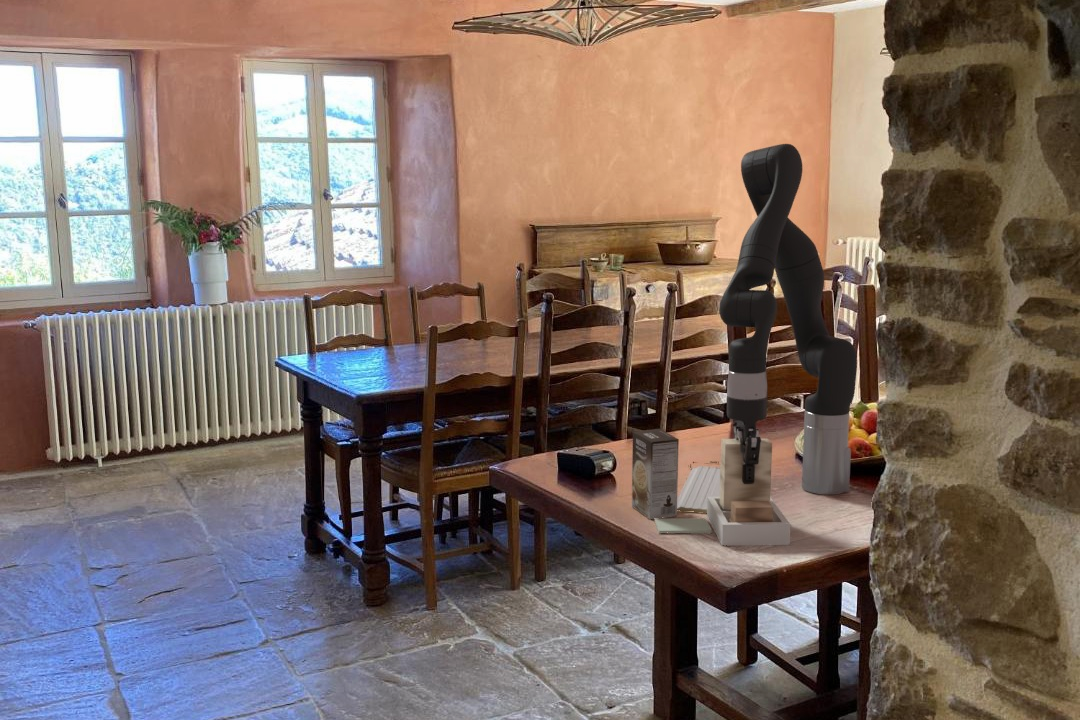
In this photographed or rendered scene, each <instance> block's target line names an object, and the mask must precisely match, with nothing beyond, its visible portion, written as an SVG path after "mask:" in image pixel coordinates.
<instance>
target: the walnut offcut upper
mask: <svg viewBox="0 0 1080 720" xmlns="http://www.w3.org/2000/svg"><path fill="white" fill-rule="evenodd" d="M731 521H732V522H733V523H735V522H773V506H772V505H771V504H770V503H769V501H735V502H731Z"/></svg>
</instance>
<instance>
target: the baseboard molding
mask: <svg viewBox="0 0 1080 720" xmlns="http://www.w3.org/2000/svg"><path fill="white" fill-rule="evenodd" d="M694 463H695V464H697V462H695V461H692V464H694ZM692 464H690V465H689V468H691V469H692V470H690V472H689V474H688V476H687V479H686V480H685V482H684V485H683V487H682V489H681V490H680V492H679V495H678V496H677V510H680V511H694V512H703V513H702V514H706V513H707V497H720V467H717V466H714V467H711V466H702V465H699V466H697V467H692ZM705 464H707V465H711V464H719V466H721V463H720V461H715V460H714V461H709V463H708V462H707V463H706V462H705ZM680 511H679V512H680Z"/></svg>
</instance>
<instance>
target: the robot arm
mask: <svg viewBox="0 0 1080 720" xmlns="http://www.w3.org/2000/svg"><path fill="white" fill-rule="evenodd" d="M740 172H741V173H740V174H741V178H742V182H743V185H744V188H745V190H746V192H747V195H748V198H749V200H750V202H751V206H752V207H753V210H754V211H755V214H756V218H755V220H754V221H753V222H752V223H751V225H750V226H749V227H748V229H747V231H746V232H745V235H744V237H743V239H742V242H741V246H740V250H739V255H738V261H737V266H736V269H735V271H734V273H733V275H732V278H731V280H730V282H729V284H728V285H727V287H726V289H725V290H724V293H723V295H722V296H721V300H720V303H719V306H718V307H719V308H718V310H719V311H718V313H719V316H720V319H721V322H723V324H725V325H727V326H729V327H735V328H736V327H739V328H755V330H754V334H753V335H752V336H748V337H744V338H737V339H734V340H732V341H730V343H729V346H728V373H727V382H726V383H727V384H726V390H727V391H726V416H727V418H728V419H730V420H732V421H733V422H732V429H733V431H732V433H733V439H736V440H739V444H740V452H741V453H742V464H743V468H742V482H743V483H744V484H753V483H754V478H755V465H756V464H758V462H759V452H760V443H761V439H762V438H761V437H760V432H759V428H757V422H760V421H763V420H765V419H766V418H767V414H768V413H767V412H768V411H767V409H768V408H767V407H768V405H767V404H768V378H767V350H768V344H769V340H770V339H769V338H770V334H771V331H772V328H773V325H774V322H775V319H776V317H777V313H778V302H777V298H776V297H775V295H774V294H773V293H772V292H771V291H769V290H762V289H759V290H758V289H754V288H758V287H762V286H766V285H768V284H769V283H771V281H772V280H773V278H774V272H775V274H776V278H777V281H778V284H779V287H780V288H781V292H782V295H783V298H784V301H785V305H786V309H787V312H788V315H789V318H790V321H791V325H792V330H793V335H794V336H793V337H794V339H795V345H796V351H797V354H798V360H799V362H800V365H801V367H802V369H803V370H804V372H805V373H807V374H809V375H810V376H812V377H814V378H818V382H817V387H816V388H817V390H816V391H815V393H814V394H813V393H812V394H809V395H807V396H806V398H805V401H804V418H803V419H804V420H803V421H804V422H803V443H802V444H803V445H802V447H803V448H802V449H803V450H802V474H801V475H802V476H801V488H802V489H803V490H804V491H807V492H809V493H813V494H818V495H838V494H840V495H841V494H843V493H849V492H850V476H851V458H852V457H851V456H852V454H851V453H852V450H851V448H850V447H849V431H850V428H849V427H850V412H851V411H850V409H851V404H852V402H853V400H854V397H855V394H856V393H855V391H856V381H857V374H858V373H857V370H858V355H857V352H856V348H855V346H854V345H853V343H852V342H850V341H849V340H848V339H847V340H846V339H844V338H841V337H840V338H839V337H836V336H831V335H830V333H829V331H828V329H827V326H826V323H825V320H824V317H823V313H822V312H823V311H822V305H821V304H822V298H823V293H824V288H825V272H824V269H823V266H822V261H821V258H820V255H819V252H818V249H817V247H816V244H815V243H814V241H813V240H812V239H811V238H810V237H809V236H808V235H807V234H806V233H805V232H804V231H803V230H802V229H801V228H800V227H799V226H798V225H797V224H795V223H794V222H793V220H791V219H790V218H789V215H790V213H791V210H792V208H793V205H794V201H795V199H796V195H797V193H798V190H799V189H800V184H801V181H802V176H803V160H802V157H801V154H800V152H799V150H798V149H797V148H796V147H795V146H794V145H792V144H790V143H782V144H781V143H779V144H776V145H771V146H768V147H763V148H759V149H756V150H755V149H754V150H751V151H747V152H746V153H745V154H744V155H743V156H742V159H741V162H740ZM743 445H744V446H746V449H744V448H743ZM749 455H752V458H749Z"/></svg>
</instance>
